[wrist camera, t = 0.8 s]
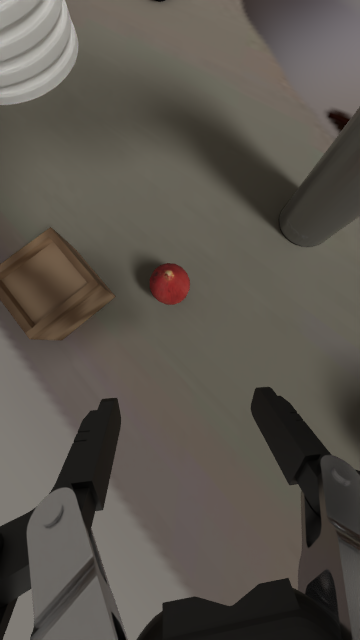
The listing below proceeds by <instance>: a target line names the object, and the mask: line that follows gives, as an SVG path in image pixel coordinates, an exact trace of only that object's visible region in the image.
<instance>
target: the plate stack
mask: <svg viewBox="0 0 360 640" xmlns="http://www.w3.org/2000/svg"><path fill="white" fill-rule="evenodd" d="M77 54H78V38H77V35H76V32H75V29H74V26H73V23H72V21H71V18H70V14H69V11H68V8H67V5H66V2H65V0H0V105H10V104H18V103H22V102H26V101H30V100H33V99H35V98H38V97H40V96H42V95H44V94H46V93H47V92H49V91H51V90H52V89H53V88H55V87H56V86H57V85H59V84H60V83H61V82H62V81H63V80H64V79H65V78H66V76H67V75H68V74H69V72H70V71H71V69H72V68H73V66H74V64H75V61H76V58H77Z"/></svg>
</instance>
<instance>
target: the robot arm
mask: <svg viewBox="0 0 360 640" xmlns="http://www.w3.org/2000/svg"><path fill="white" fill-rule="evenodd" d="M359 216H360V107H359V109H358V110H357V111H356V113H355V114H354V115H353V117H352V118H351V119H350V121H349V122H348V123H347V125H346V126H345V127H344V129H343V130H342V131H341V132H340V134H339V135H338V136H337V138H336V139H335V140H334V142H333V143H332V144H331V146H330V147H329V148H328V150H327V151H326V152H325V154H324V155H323V156H322V158H321V159H320V160H319V162H318V163H317V164H316V166H315V167H314V168H313V170H312V171H311V172H310V174H309V175H308V176H307V178H306V179H305V180H304V182H303V183H302V184H301V186H300V187H299V188H298V189H297V191H296V192H295V193H294V195H293V196H292V197H291V199H290V200H289V201H288V203H287V204H286V205H285V207H284V208H283V209H282V211H281V214H280V218H279V224H280V228H281V230H282V232H283V234H284V235H285V236H286V237H287V239H289V240H290V241H291V242H293V243H295V244H297V245H300V246H306V247H311V246H316V245H319V244H321V243H323V242H324V241H325V240H327V239H328V238H330V237H331V236H332V235H334V234H335V233H337V232H338V231H339V230H341V229H342V228H344V227H345V226H347V225H348V224H349V223H351V222H352V221H353V220H355V219H356V218H358V217H359ZM251 412H252V415H253V417H254V419H255V421H256V423H257V425H258V427H259V429H260V431H261V433H262V434H263V436H264V438H265V440H266V442H267V444H268V446H269V448H270V450H271V451H272V453H273V455H274V457H275V459H276V461H277V463H278V465H279V467H280V468H281V470H282V472H283V474H284V476H285V478H286V480H287V482H288V483H289V485H295V484H299V486H300V488H301V490H302V491H301V524H302V552H301V557H300V561H299V569H298V590H296V589H294V588H292V586H291V584H290V581H289V578H286V579H281V580H276V581H271V582H266V583H261V584H258V585H257V586H256V587H255V588H254V589H252V590H251V591H250V592H249V593H248V594H246V595H245V596H244V597H243V598H241V599H240V600H239V601H238V602H237V603H235V604H234V605H233V606H226V605H223V604H219V603H216V602H212V601H209V600H206V599H202V598H199V597H190V598H185V599H180V600H175V601H170V602H165V603H163V611H162V612H160V613H159V614H158V615H156V616H155V617H154V618H153V619H152V620H151V621H150V622H149V624H148V625H147V626H146V627H145V628H144V630H143V631H142V632H141V634H140V635H139V637H138V638H137V640H360V471H358V470H355V469H354V468H353V467H352V466H350V465H349V464H348V463H347V462H345V461H344V460H342V459H340V458H338V457H336V456H332V455H331V454H330V452H329V451H328V450H327V449H326V448H325V446H324V445H323V444H322V443H321V441H320V440H319V439H318V438H317V436H316V435H315V434H314V433H313V431H312V430H311V429H310V428H309V426H308V425H307V424H306V423H305V421H303V419H302V418H301V416H300V415H299V414H297V411H296V410H295V409H294V408H293V406H292V405H291V404H290V403H289V402H288V401H287V400H285V399H284V398H283V397H281V396H277V395H276V393H275V392H274V391H273V389H272V388H270V387H260V388H256V389H255V392H254V395H253V399H252V403H251ZM120 426H121V415H120V409H119V404H118V399H117V398H108V399H102V400H101V402H100V405H99V407H98V410H93V411H90V412H89V413H88V415H87V416H86V417H85V418H84V419H83V421H82V423H81V425H80V428H79V430H78V434H77V435H76V437H75V439H74V443H73V444H72V446H71V449H70V451H69V453H68V456H67V458H66V460H65V463H64V465H63V467H62V470H61V472H60V474H59V477H58V479H57V481H56V484H55V485H54V487H53V489H52V490H51V492H50V493H49V495H47V496H46V497H45V498H44V499H43V500H42V501H41V502H40V503H39V505H38V506H37V507H36V508H34V509H33V510H32V511H30V512H28V513H26V514H25V515H23V516H20V517H19V518H17V519H14V520H12V521H10V522H8V523H6V524H4V525H2V526H0V640H3V636H4V634H5V631H6V629H7V626H8V623H9V620H10V618H11V615H12V612H13V609H14V607H15V604H16V601H17V598H18V597H19V596H20V595H21V594H23V593H25V592H26V591H28V590H30V589H32V600H33V610H34V629H33V632H32V634H31V638H30V640H128V639H127V636H126V632H125V629H124V626H123V623H122V620H121V617H120V614H119V611H118V608H117V605H116V602H115V599H114V596H113V593H112V591H111V588H110V585H109V582H108V579H107V576H106V573H105V570H104V567H103V564H102V561H101V558H100V554H99V551H98V548H97V545H96V542H95V538H94V536H93V532H92V529H91V526H92V522H93V518H94V514H95V511H99V510H103V508H104V503H105V498H106V493H107V489H108V484H109V479H110V474H111V470H112V465H113V460H114V455H115V451H116V446H117V441H118V436H119V432H120Z"/></svg>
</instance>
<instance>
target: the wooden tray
mask: <svg viewBox="0 0 360 640" xmlns="http://www.w3.org/2000/svg"><path fill="white" fill-rule="evenodd" d="M113 298H115V295H114V294H113V293H112V292H111V291H110V289H109V288H108V287H107V286H106V285H105V284H104V282H103V281H102V280H101V279H100V278H99V276H98V275H97V274H96V273H95V272H94V270H93V269H92V268H91V267H90V266H89V265H88V263H87V262H86V261H85V260H84V259H83V257H82V256H81V255H80V254H79V253H78V252H77V250H76V249H74V248H73V247H72V246H71V245H70V244H69V243H68V242H67V241H66V240H64V239H63V238H62V237H61V236H60V235H59V234H58V233H57V232H56V231H55V230H53V229H52V228H51V227H50V228H49V229H48V230H46V231H45V232H44V233H42V234H41V235H39V236H38V237H37V238H35V239H34V240H33V241H31V242H30V243H29V244H27V245H26V246H24V247H23V248H22V249H20V250H19V251H18V252H16V253H15V254H14V255H12V256H11V257H10V258H8V259H7V260H5V261H4V262H3V263H1V264H0V300H1V301H2V303H3V304H4V305H5V307H6V308H7V309H8V311H9V312H10V313H11V315H12V316H13V317H14V319H15V320H16V321H17V323H18V324H19V326H20V327H21V328H22V330H23V331H24V332H25V334H26V335H27V336H28V338H29V339H39V340H63V339H64V338H65V337H67V336H68V335H69V334H70V333H71V332H73V331H74V330H75V329H76V328H78V327H79V326H80V325H81V324H83V323H84V322H85V321H86V320H87V319H89V318H90V317H91V316H92V315H94V314H95V313H96V312H97V311H99V310H100V309H101V308H102V307H103V306H105V305H106V304H107V303H108V302H110V301H111V300H112V299H113Z"/></svg>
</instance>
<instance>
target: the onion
mask: <svg viewBox="0 0 360 640" xmlns="http://www.w3.org/2000/svg"><path fill="white" fill-rule="evenodd" d="M189 288H190V280H189V277H188V275H187V273H186V272H185V271H184V269H183V268H182V267H180V266H178V265H176V264H170V263H167V264H163V265H160V266H159V267H158V268H156V269H155V270H154V272H153V274H152V275H151V277H150V289H151V292H152V294H153V296H154V297H155V298H156V299H157V300H158V301H160V302H162V303H164V304H169V305H174V304H177V303H180V302H181V301H182V300H183V299H184V298H185V297H186V295H187V293H188V291H189Z"/></svg>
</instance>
